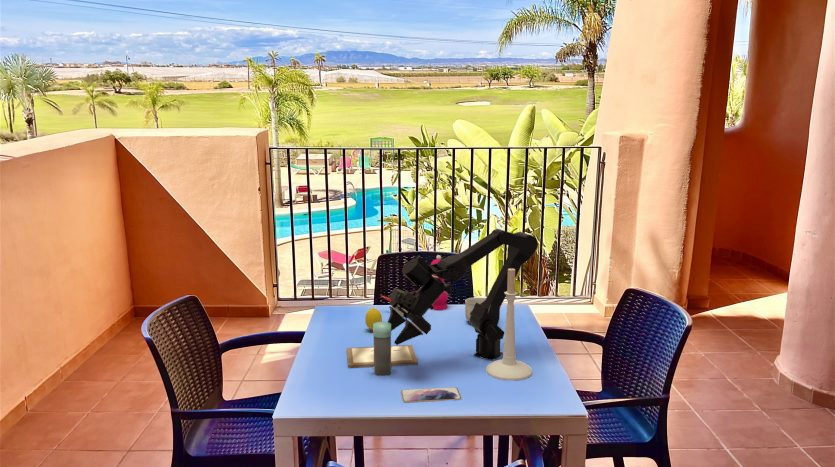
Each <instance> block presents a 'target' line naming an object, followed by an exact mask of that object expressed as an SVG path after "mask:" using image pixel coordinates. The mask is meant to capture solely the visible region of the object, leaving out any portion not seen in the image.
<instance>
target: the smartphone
mask: <svg viewBox="0 0 835 467" xmlns="http://www.w3.org/2000/svg"><path fill="white" fill-rule="evenodd" d="M400 394H401V399H402V402H403V403H404V404H406V403H407V404H410V403H412V404H413V403H428V402H432V403H433V402H446V401H447V400H453V401H461V400H462V399H461V398H462V396H461V394H460V391H459V388H458V387H456V386H455V387H452V386H451V387H432V388H430V387H428V388H411V389H410V388H409V389H407V388H406V389H401V390H400ZM460 399H461V400H460ZM445 400H446V401H445ZM447 402H448V401H447Z"/></svg>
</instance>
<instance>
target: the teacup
mask: <svg viewBox="0 0 835 467" xmlns="http://www.w3.org/2000/svg"><path fill="white" fill-rule="evenodd" d="M486 298H487V297H486ZM486 298H485V297H469V298H466V299H465V301H464V302H465V303H464V314H465V318H466V320H467V321H469V322H470V316H471V315H470V313H471V312H472V310H473V308H474V305H475V304H476V303H479V304H481V303H482V302H484V301H485V300H486Z"/></svg>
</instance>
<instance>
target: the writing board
mask: <svg viewBox="0 0 835 467" xmlns="http://www.w3.org/2000/svg"><path fill="white" fill-rule="evenodd" d="M346 354H347V368H348V369H354V368H355V369H356V368H372V367H373V368H374V346H363V347H362V346H359V347H347V348H346ZM411 365H413V366H414V365H419V361H418V358H417V355H416V353H415V350H414V347H413V345H412V344H406V345H405V344H403V345H401V344H398V345H391V367H394V366H395V367H396V366H397V367H398V366H411Z"/></svg>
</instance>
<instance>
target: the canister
mask: <svg viewBox="0 0 835 467" xmlns="http://www.w3.org/2000/svg"><path fill="white" fill-rule="evenodd" d="M372 336H373V347H374V367H373V373H374V375H376V376H379V377H383V376H384V377H385V376H389V375H391V374H392V366H391V346H392V340H391V339H392V331H391V323H389V322H388V321H382V322H376V323H374V324H373V330H372Z"/></svg>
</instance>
